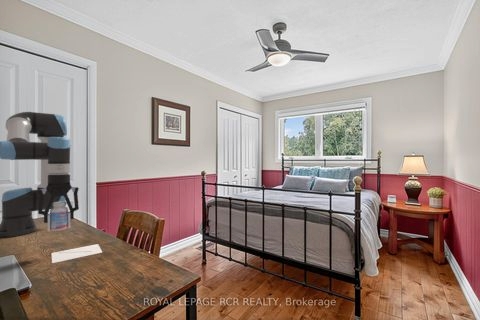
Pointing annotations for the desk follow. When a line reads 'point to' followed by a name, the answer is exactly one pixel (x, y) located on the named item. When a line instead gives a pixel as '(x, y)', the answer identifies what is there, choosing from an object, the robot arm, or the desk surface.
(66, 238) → the desk surface
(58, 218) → the pill bottle
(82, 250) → the paper
